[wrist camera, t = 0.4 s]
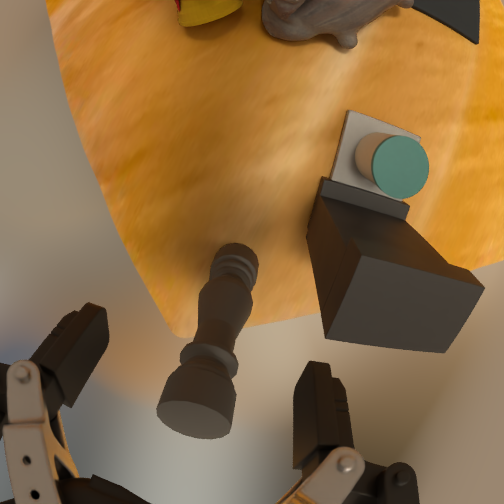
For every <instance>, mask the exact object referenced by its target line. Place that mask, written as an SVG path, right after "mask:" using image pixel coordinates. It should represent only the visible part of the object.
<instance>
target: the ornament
mask: <svg viewBox="0 0 504 504" xmlns="http://www.w3.org/2000/svg"><path fill="white" fill-rule="evenodd" d="M175 2H176V5H177V8H178V16H179V18H178V22H179V24H180V25H181V26H185V27H187V26H196V25H200V24H204V23H208V22H211V21H214V20H217V19H219V18H222V17H224V16H226V15H228V14H230V13H232V12H234V11H236V10H237V9H238V8H240V7H241V6H242V4H243V1H242V0H175Z"/></svg>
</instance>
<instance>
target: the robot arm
mask: <svg viewBox="0 0 504 504" xmlns="http://www.w3.org/2000/svg"><path fill="white" fill-rule="evenodd" d="M108 343H109V328H108V320H107V312H106V309H105V308H103V307H101V306H98V305H95V304H92V303H89V302H88V303H86V304H85V305H84V306H83V307H82V309H81V310H80V311H79V312H77V311H75V310H74V311H73V312H71V313H69V314H67V315H66V316H64V317H63V318H62V320H61V321H60V322H59V323H58V324H57V327H55V328H54V329H53V330H52V331H51V334H49V335H48V336H47V338H46V339H45V340H44V341H43V342H42V344H41V345H40V346H39V348H38V349H37V350H36V352H35V353H34V354H33V355H32V357H31V358H30V359H29V360H19V361H17V362H14V363H13V364H12V365H7V364H3V363H0V440H1V438H2V436H3V440H4V447H5V455H6V461H7V466H8V472H9V477H10V482H11V486H12V491H13V495H14V498H13V499H10V500H7V501H4V502H0V504H151V503H149V502H147V501H145V500H143V499H142V498H140V497H138V496H137V495H135V494H133V493H132V492H130V491H129V490H127V489H125V488H124V487H122V486H120V485H117V484H115V483H112V482H110V481H108V480H105V479H103V478H100V477H98V476H96V475H94V474H93V475H92V477H91V479H90V478H79V475H78V472H77V469H76V467H75V464H74V462H73V460H72V458H71V456H70V454H69V450H68V447H67V443H66V438H65V434H64V430H63V425H62V420H61V415H60V411H59V409H60V407H61V406H62V404H64V405H66V406H68V407H70V408H72V406H73V404H74V403H75V401H76V399H77V397H78V395H79V394H80V392H81V390H82V389H83V387H84V385H85V383H86V382H87V380H88V378H89V377H90V375H91V373H92V372H93V370H94V368H95V367H96V365H97V363H98V362H99V360H100V358H101V357H102V355H103V354H104V352H105V350H106V348H107V346H108ZM348 410H349V409H348V403H347V397H346V390H345V388H344V386H343V384H342V383H341V381H340V379H339V378H333V377H332V375H331V368H330V365H329V364H328V363H322V362H316V361H309V362H308V364H307V365H306V367H305V369H304V371H303V373H302V375H301V377H300V378H299V380H298V382H297V384H296V386H295V390H294V396H293V469H298V470H299V469H300V470H302V477H301V478H300V479H299V480H298V482H297V483H296V484H295V485H294V486H293V487H292V488H291V489H290V490H289V491H288V492H287V493H286V494H285V495H284V496H283V497H282V498H281V499H280V500H279V501H278V502H277V503H276V504H420V503H419V494H418V486H417V479H416V474H415V471H414V470H413V469H412V467H411V466H409V465H408V464H406V463H402V462H397V463H394V464H392V465H390V466H389V467H384V466H380V465H377V464H373V463H370V462H367V461H365V460H364V459H363V457H362V455H361V454H360V453H359V452H358V451H357V450H355V448H354V444H353V438H352V437H353V436H352V430H351V422H350V415H349V412H348Z"/></svg>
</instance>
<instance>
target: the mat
mask: <svg viewBox="0 0 504 504" xmlns="http://www.w3.org/2000/svg"><path fill="white" fill-rule="evenodd" d="M412 8H414V9H416V10H418V11H420V12H422V13H424V14H426V15H428V16H430V17H432V18H433V19H435V20H437V21H439V22H441V23H442V24H444V25H446V26H448V27H449V28H451V29H453V30H454V31H456V32H457V33H459V34H461V35H462V36H464V37H465V38H467V39H468V40H470V41H471V42H473V43H474V44H479V23H480V3H479V0H414V4H413V6H412Z"/></svg>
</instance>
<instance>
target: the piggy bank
mask: <svg viewBox="0 0 504 504" xmlns="http://www.w3.org/2000/svg"><path fill="white" fill-rule="evenodd" d="M413 4H414V0H265V1H264V4H263V7H262V21H263V24H264V27H265V28H266V30H267V32H268V33H269V34H270V35H272V36H273V37H277V38H280V39H284V40H288V41H302V40H307V39H310V38H312V37H314V36H315V35H318V34H326V33H327V34H333V35H334V36H335V37H336V38H337V40H338V42H339V44H340V45H341V46H342V47H343V48H346V49H351V48H354V47H355V46H356V45H357V43H358V41H357V31H358V30H359V29H360V28H361V27H363V26H364V25H366V24H368V23H370V22H371V21H373V20H375V19H376V18H377V17H379V16H380V15H381V14H382V13H384V12H385V11H386V10H388V9H390V8H391V7H393V6H395V5H398V6H400V7H402V8H410V7H412V6H413Z"/></svg>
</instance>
